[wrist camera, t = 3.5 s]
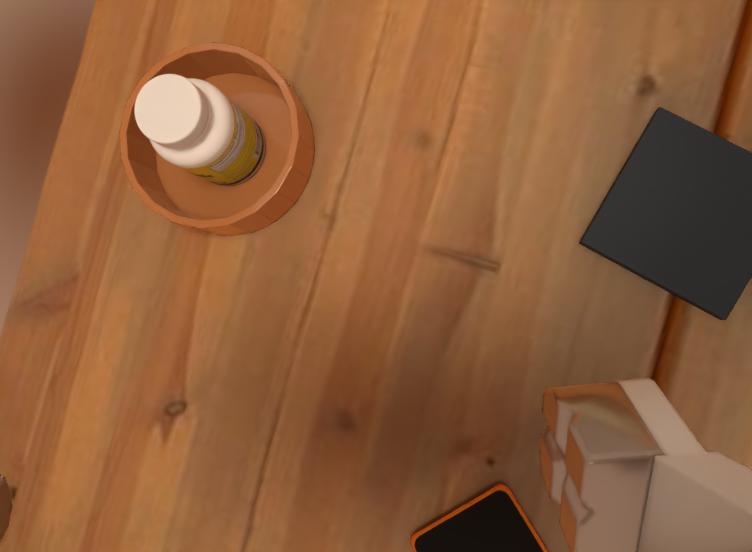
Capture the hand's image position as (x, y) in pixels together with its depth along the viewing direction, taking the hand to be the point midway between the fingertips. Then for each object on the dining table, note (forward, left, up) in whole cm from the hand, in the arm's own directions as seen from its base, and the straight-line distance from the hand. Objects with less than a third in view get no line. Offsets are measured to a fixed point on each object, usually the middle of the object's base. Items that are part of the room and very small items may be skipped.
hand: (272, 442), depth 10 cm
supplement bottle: (-5, -18, -34) cm, 39 cm away
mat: (-16, +11, -35) cm, 39 cm away
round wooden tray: (-5, -18, -35) cm, 39 cm away
